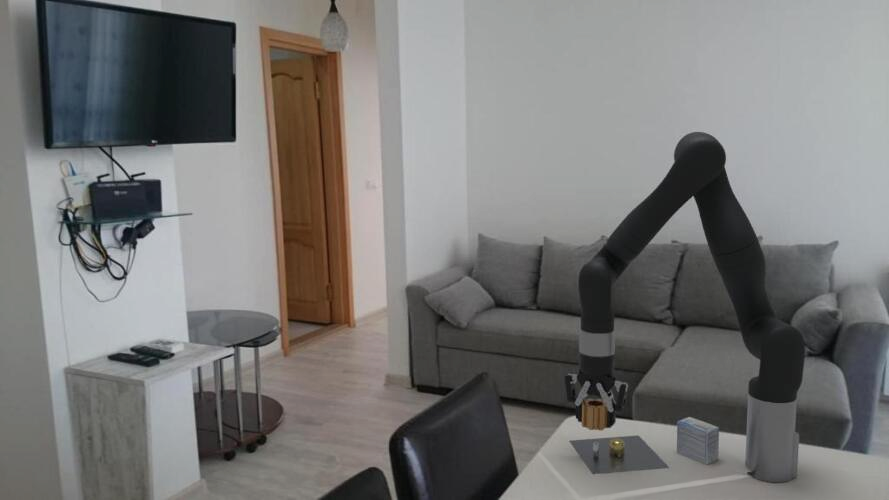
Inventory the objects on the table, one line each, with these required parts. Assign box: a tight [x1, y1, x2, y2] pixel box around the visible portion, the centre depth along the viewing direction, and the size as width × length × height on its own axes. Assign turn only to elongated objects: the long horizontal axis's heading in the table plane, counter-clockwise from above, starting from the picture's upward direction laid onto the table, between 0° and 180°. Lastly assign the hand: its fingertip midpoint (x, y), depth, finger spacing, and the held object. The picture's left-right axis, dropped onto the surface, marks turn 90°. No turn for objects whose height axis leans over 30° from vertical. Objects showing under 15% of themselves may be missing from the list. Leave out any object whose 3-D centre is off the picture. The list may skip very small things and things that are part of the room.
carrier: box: [569, 434, 670, 475], centre depth 157 cm, size 17×17×5 cm
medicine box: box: [676, 416, 720, 465], centre depth 155 cm, size 8×4×9 cm, turn 34°
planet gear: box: [580, 398, 608, 432], centre depth 154 cm, size 6×6×5 cm
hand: (595, 423), depth 154 cm, fingers closed on planet gear, 6 cm apart
